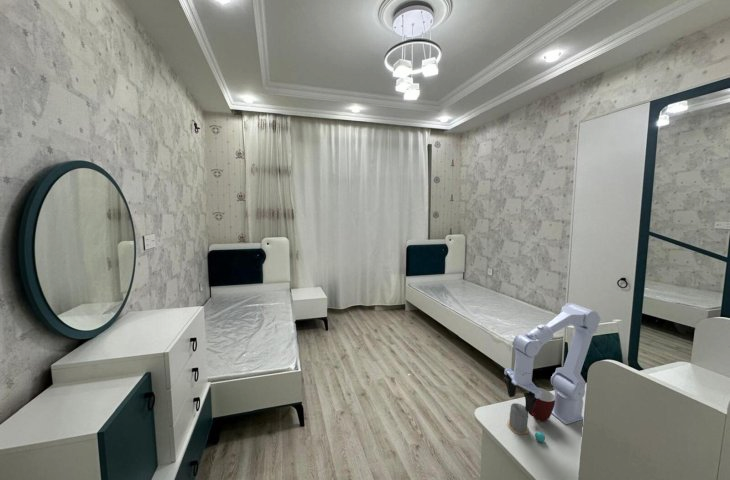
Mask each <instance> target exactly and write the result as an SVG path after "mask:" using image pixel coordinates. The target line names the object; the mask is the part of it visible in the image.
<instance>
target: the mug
mask: <svg viewBox="0 0 730 480" xmlns="http://www.w3.org/2000/svg"><path fill="white" fill-rule="evenodd" d="M537 388H538V389H539V390H540V391H541V392H542V397H541V398H539V399H538V400H537V402H536V403H535V404H534V406H533V408H532V411H529V412H528V415H529V416H531V417H533V418H534V419H535V420H536V421H538V422H541V423H544V422H547V420H549V419H550V418H551V415H552V411H553V408H554V405H555V397H554V395H555V394H554V393H552V392H551V391H549V390H547V389H545V388H543V387H537Z"/></svg>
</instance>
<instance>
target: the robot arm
mask: <svg viewBox="0 0 730 480" xmlns="http://www.w3.org/2000/svg"><path fill="white" fill-rule="evenodd" d="M600 321H601V317H600V315H599V312H598V311H596V310H592V309H589V308H586V307H584V306H581V305H579V304H576V303H574V302H569V301H568V302H567V303H566V304H564V306H562V307H561V311H560V313H559V314H557V315H556V316H555V317H553V319H551V320H550V321H549V322H547V323H546V324H541V323H540V324H539V325H536V326H535V327H533V329H530V330H529V331H528V332H526V333H525V334H524V333H522V334H518V335H516V336H515V337H514V339H513V341H512V343H511V344H512V346H513V348H514V354H515V355H514V368H513V370H512V369H511V368H504V375H505V376H503V382H504V383H505V385H506V389H507V394H508V397H509V398H513V397H515V396H516V390H517V386H519V387H521V388H522V389H525V390H527V392H524V393H523V396H524V399H525V405H524V406H525V409H526V411H527V412H528V413H529V411H532V408H533V406H534V404H535V403H536V402H537V400H538V399H539V398H541V397H542V392H541V391H540V390H539V389H538V388H539V387H537V386H536V385H535V384H534V382H533V380H532V379H533V371H534V361H535V357H536V356H537V355H538V354H539V351H540V350H541V349H542V348H543V347H542V346H544V345H546V344H547V343H548V342H550V341H551V340H552V339H553V338H554V334H556V332H559V331H560V330H562V329H564V328H567V327H568V326H570V325H573V327H574V329H575V331H574V335H573V337H572V340H571V344H570V346H569V349H568V352H567V356H566V358H565V361H564V364H563V367H556V368H555V372H553V373H552V376H550V384H551V385H552V387H553V390H554V394H553V395H554V397H555V405H554V408H553V411H552V413H551V415H552V416H554V417H555V418H556V419H558V420H559V421H561V423H563V424H565V425H569V424H571V423H572V424H573V423H575V422H578V421H581V420H584V419H583V418H584V416H583V407H584V400H583V398H584V397H585V394H586V385H587V382H586V381H585V379H584V378H583V376H582V374H581V373H582V368H583V365H584V362H585V360H586V357H587V355H588V351H589V348H590V345H591V342H592V340H593V339H592V338H593V335H594V334H596V333H597V331H598V327H599V324H600Z"/></svg>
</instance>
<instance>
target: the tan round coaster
mask: <svg viewBox="0 0 730 480" xmlns="http://www.w3.org/2000/svg"><path fill="white" fill-rule="evenodd" d="M509 420H510V418H509V419H507V422H506V423H507V424H506V425H507V427H508V429H509V430H510V431H511V432H513V433H515V434H518V435H521V436H524V435H528V433H529V431H530V428H529V425H527V431H525V432H518V431H515V430H514V429H513V428H512V427H511V426H509Z"/></svg>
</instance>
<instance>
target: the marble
mask: <svg viewBox="0 0 730 480" xmlns="http://www.w3.org/2000/svg"><path fill="white" fill-rule="evenodd" d="M534 436H535V437H534V438H535V439H536V440H537V442H539V443H543V442H545V441H546V437H545V436H546V435H545V434H544V433H543V432H541V431H536V432H535V433H534Z"/></svg>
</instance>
